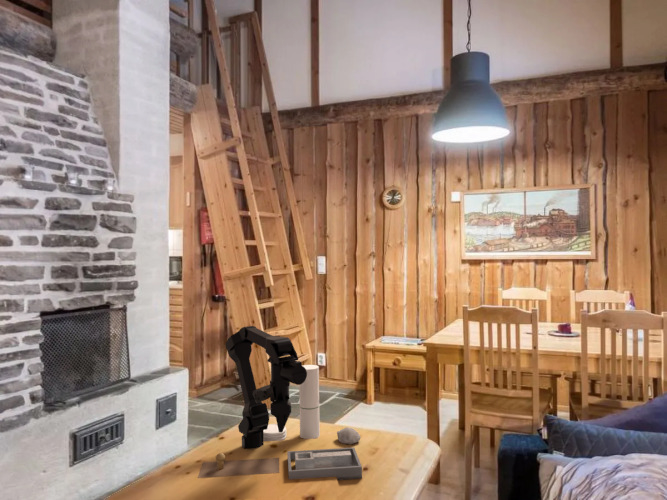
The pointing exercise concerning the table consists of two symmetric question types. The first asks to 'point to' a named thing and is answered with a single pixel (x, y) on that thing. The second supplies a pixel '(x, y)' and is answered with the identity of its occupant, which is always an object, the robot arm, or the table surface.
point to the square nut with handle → (322, 460)
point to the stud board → (238, 467)
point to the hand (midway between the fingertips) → (280, 426)
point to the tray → (339, 472)
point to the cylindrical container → (309, 404)
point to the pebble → (348, 435)
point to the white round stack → (274, 433)
